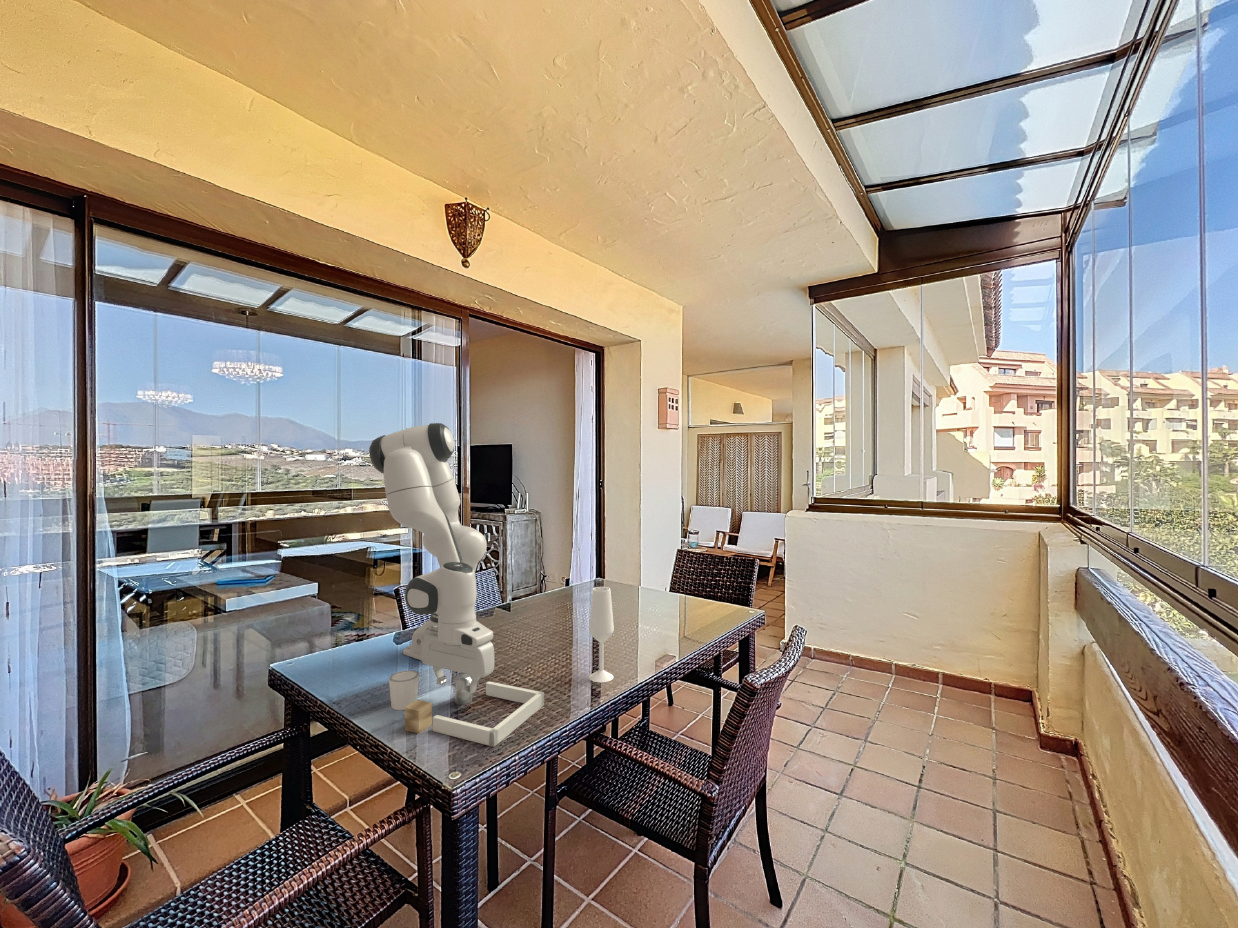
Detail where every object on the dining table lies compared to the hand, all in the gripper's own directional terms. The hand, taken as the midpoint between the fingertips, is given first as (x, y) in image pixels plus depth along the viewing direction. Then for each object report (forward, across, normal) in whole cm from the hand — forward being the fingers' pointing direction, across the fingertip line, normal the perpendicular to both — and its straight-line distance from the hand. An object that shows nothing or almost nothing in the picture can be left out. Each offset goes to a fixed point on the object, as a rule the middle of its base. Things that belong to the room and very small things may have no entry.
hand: (456, 687), depth 128 cm
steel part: (+4, +1, +2) cm, 4 cm away
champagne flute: (+3, +25, +29) cm, 38 cm away
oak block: (+4, +1, -12) cm, 13 cm away
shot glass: (+4, -11, -6) cm, 13 cm away
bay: (+4, +12, -2) cm, 13 cm away
